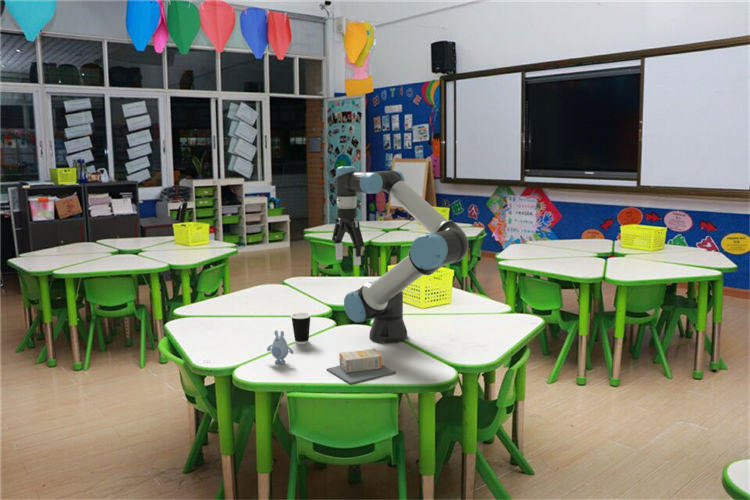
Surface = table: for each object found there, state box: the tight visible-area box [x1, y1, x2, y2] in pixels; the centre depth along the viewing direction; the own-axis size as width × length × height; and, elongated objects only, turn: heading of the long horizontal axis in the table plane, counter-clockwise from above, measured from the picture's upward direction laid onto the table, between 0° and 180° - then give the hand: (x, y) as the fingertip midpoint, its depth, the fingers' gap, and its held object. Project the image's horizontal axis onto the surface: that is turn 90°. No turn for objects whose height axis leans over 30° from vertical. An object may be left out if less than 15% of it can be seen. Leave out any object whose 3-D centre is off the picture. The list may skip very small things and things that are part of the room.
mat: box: [326, 364, 397, 385], centre depth 222 cm, size 18×16×1 cm
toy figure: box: [266, 329, 294, 365], centre depth 231 cm, size 11×6×12 cm, turn 70°
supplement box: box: [338, 348, 383, 373], centre depth 224 cm, size 8×5×13 cm
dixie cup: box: [290, 312, 312, 345], centre depth 254 cm, size 8×8×11 cm
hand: (348, 262), depth 250 cm, fingers open, 13 cm apart
